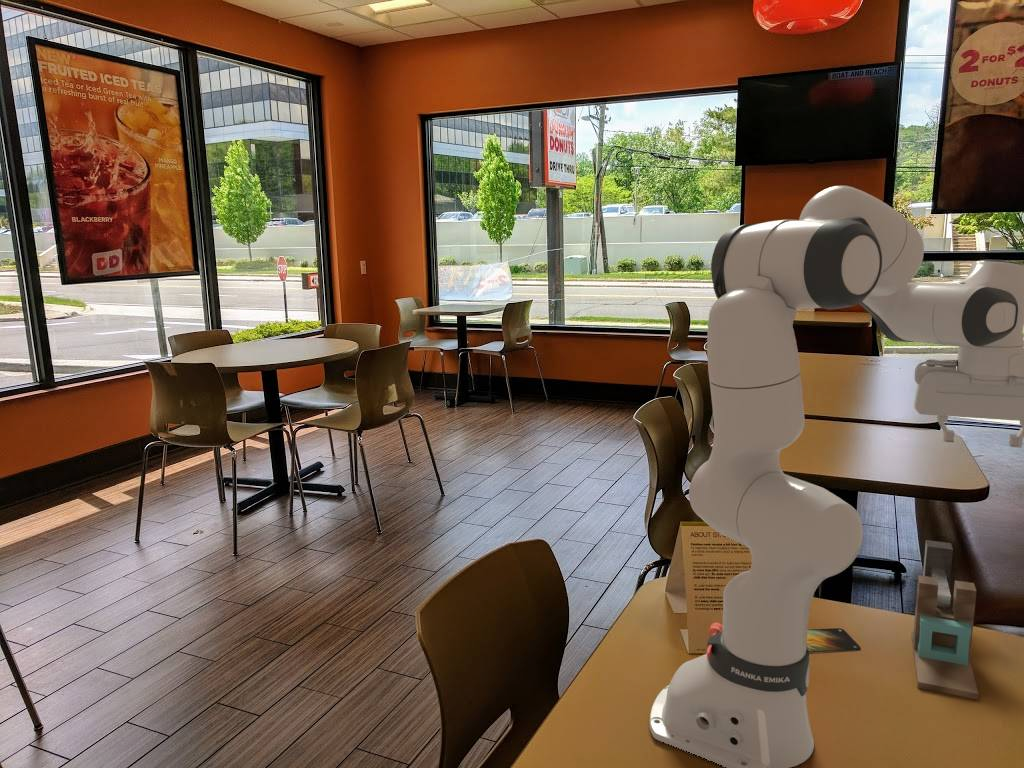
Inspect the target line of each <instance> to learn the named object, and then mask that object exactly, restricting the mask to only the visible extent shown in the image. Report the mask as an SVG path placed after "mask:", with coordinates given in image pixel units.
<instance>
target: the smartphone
mask: <svg viewBox="0 0 1024 768" xmlns="http://www.w3.org/2000/svg"><path fill="white" fill-rule="evenodd" d="M806 645H807V647H808V649H809V654H815V653H816V654H817V653H819V654H820V653H821V654H822V653H835V652H836V653H838V652H858V651H861V650H862V648H861V646H860V645H859V644H858V642H856V640H855V639H853V637H852V636H850V635H849V633H848V632H846V630H845V629H843V628H840V627H837V628H836V627H834V628H812V629H810V628H809V629H807V643H806Z"/></svg>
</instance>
